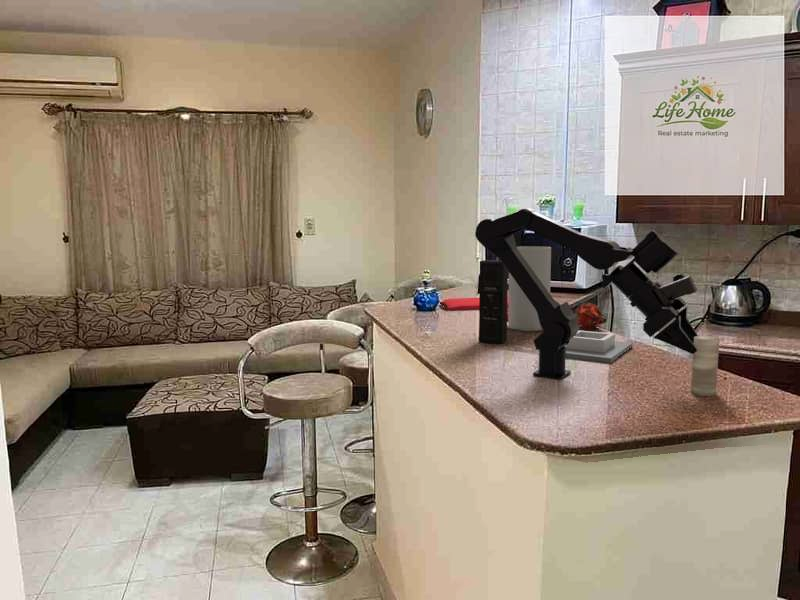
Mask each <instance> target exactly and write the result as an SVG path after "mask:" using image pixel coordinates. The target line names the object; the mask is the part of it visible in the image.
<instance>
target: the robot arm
mask: <svg viewBox="0 0 800 600" xmlns="http://www.w3.org/2000/svg"><path fill="white" fill-rule="evenodd" d="M525 229H527V230H529V231H532V232H534V233H536V234H537V235H540V236H542V237H544V238H545V239H548V240H549V241H552V242H554V243H556V244H559V245H561V246H562V247H564V248H566V249H569V250H571V251H572V252H574V253H575V254H576V255H577V256H578V257H579V258H580V259H582V260H583V261H584V262H586V263H587V264H589V266H591V267H593V269H595V270H599V271H600V270H601V271H602V270H607V269H610V268H612V267H615V266H617V267H615V268H614V269H613V270H612V271H611V272H610V273H604V274H602V275H601V278H602V283H601V288H603V289H606V288H607V287H609V286H611V284H613V285H614V286H615V287H616V288H617V290H619V292H620V293H622V295H624V296H625V297H626V298H627V299H628V301H629V302H630V303H629V305H630V306H631V307H632V308H635V307H636V308H637V309H638V311H639V312H640V313H641V314H643V316H644V317H645V318H644V320H645V321H644V322H643V326H642V327H643V328H642V331H644V333H645V334H646V335H647V336H648V337H649V338H651V337H653V339H655V340H659V341H661V342H663V343H666V344H669V345H671V346H673V347H676V348H678V349H679V350H680V349H681V350H682V351H685V352H687V353H690V354H691V355H693V354H694V353H695V352H697V349H696V348H695V346H694V337H695V336H699V335H698V333H697V332H696V330H695V328H694V327H693V325H692V323H691V322H690V320H689V318H688V309H689V308H688V306H686V305H688V304H687V302H686V301H685V300H684V299H683V298H682V297H684V296H686V295H688V296H690V295H691V294H692V295H693V294H695V293H697V291H698V288H697V286H696V284H695V282H694V281H695V280H694V279H693V278H692V276H691V275H687V276H686V275H684V274H683V273H678V274H675V275H673V276H672V282H669V283H666V284H665V285H662V284H661V283H660V282H656V281H655V282H653V280H652V279H651V278H650V277H649V276H648V275H647V274H650V273H651V272H653V273H654V274H659V272H660V271H661V270H663V269H664V268H665V267H666V266H667V265H668V264H669V263H670V262H672V261H673V260H674V259H675V258H676V257H677V256H678V255H680V252H679V250H678V249H677V247H675V246H674V244H672V242H670V241H669V240H666V238H664V237H663V236H662V235H660V234H659V233H658V232H657V231H655V230H651V231H649V232H648V234H646V236H645V237H644V238H643V239H642V240H641V241H640V242H639V243H638V244H637V245H636V246H635V247H634V248H632V247H631V246H630V247H625V246H620V244H619V243H617V242H616V241H613V240H611V239H607V238H604V237H599V236H594V235H590V234H585V233H582V232H580V231H578V230H576V229H574V228H571V227H570V226H567V225H565V224H563V223H560V222H559V221H556V220H554V219H552V218H550V217H548V216H545V215H543V214H541V213H539V212H537V211H536V210H535V209H533V208H520V209H519V210H518V211H515V212H513V213H509V214H508V215H507V214H506V215H505V216H500V217H498V218H486V219H483V220H480V221H479V223H478V224H477V226H476V228H475V233H474V234H475V235H474V236H475V237H476V240H477V242H479V244H480V245H482V246H483V247H484V248H485V249H486V250H487V251H488V252H489V253H491V254H492V255H494V256H495V257H497V258H498V259H499V261H501V262H502V263H503V264H504V266H505V267H506V269H507V270H508V274H509V273H510V274H511V276H512V277H513V278H514V280H515V281H516V283H517V284H518V285H519V287H520V288H521V290H522V291H523V292H524V294H525V295H526V297H527V298H528V300H529V301H530V302H531V304H532V305H533V307H534V308H535V309H536V311H537V315H538V319H539V322H540V325H541V327H542V329H543V332H542V331H541V333H540V334H539V335H538V336H537V337H535V338H534V339H533V344H534V347H535V350H536V351H538V369H537V370H535V371H533V372H532V375H533V376H536V377H537V376H538V377H543V378H551V379H558V380H562V379H563V378H566V377H567V376H568V375H569V374H571V373H572V371H571V370H569V369H566V361H567V360H566V359H567V358H566V347H565V345H567V344H568V343H569V341H570V339H571V338H573V337H574V336H575V335H576V334H577V332H578V330H579V329H580V328H579V327H580V326H579V323H578V321H577V319H576V318H577V317H578V315H576V314H575V312H574V311H573V310H572V308H571V306H570V304H569V303H568V301H565V302H563V303H560V302H558V300H555V299H554V298H553V296H552V295H551V292H550V293H549V292H548V291H547V289H546V288H545V287H544V285H543V284H542V282H541V281H540V280H539V278H538V277H537V275H536V274H535V273H534V271H533V270H532V269H531V267H530V266H529V264H528V263H527V262H526V260H525V259H524V257H523V256H522V255H521V253H520V252H519V251H518V249H517V247H518V246H517V243H516V240H515V236H514V235H515V234H516V233H518V232H520V231H523V230H525ZM632 258H633V259H632ZM630 259H632V260H631V261H629V262H628V263H627V264H626V265H624V266H623V265H620V264H619V263H620V262H624V261H627V260H630ZM635 263H636V264H635ZM618 264H619V265H618ZM640 268H641V269H642V270H641V269H640ZM643 271H644V272H643ZM645 273H647V274H645ZM682 308H683V309H682Z"/></svg>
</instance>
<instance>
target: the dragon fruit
mask: <svg viewBox="0 0 800 600" xmlns="http://www.w3.org/2000/svg"><path fill="white" fill-rule="evenodd" d="M574 313H575V314H576V315H578V317H577V318H576V319H577V321H578V323H579V327H581V328H582V329H584V330H585V331H589V330H591V329H592V327H593V329H597V328H599V326H600V325H602V324H606V323H607V318H604V317H605V316H604V314H603V312H602V311H601V308H600V307H599V306H597V305H596V304H593V303H590V302H583V303H582V304H580V305H579V306H578V307H577V308H576V309H575V312H574Z"/></svg>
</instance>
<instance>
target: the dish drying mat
mask: <svg viewBox="0 0 800 600" xmlns="http://www.w3.org/2000/svg"><path fill="white" fill-rule="evenodd" d="M439 303H440V304H441V305H442V306H444V307H445V308H446V309H447V310H452V312H453V310H458V311H476V310H477V311H479V297H467V298H463V297H462V298H446V299H443V300H442V301H439ZM442 306H441V307H442ZM445 308H444V309H445ZM446 309H445V310H446ZM507 309H509V295H507ZM447 310H446V311H447Z"/></svg>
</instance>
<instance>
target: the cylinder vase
mask: <svg viewBox="0 0 800 600" xmlns="http://www.w3.org/2000/svg"><path fill="white" fill-rule="evenodd" d="M516 247H517V249H518V251H519V252H520V253H521V255H522V256H523V257H524V259H525V260H526V262H527V263H528V264H529V266H530V267H531V269H532V270H533V271H534V273H535V274H536V275H537V277H538V278H539V280H540V281H541V282H542V284H543V285H544V287H545V288H546V289H547V291H548V292H549V293H550V294H551V275H552V274H551V270H552V269H551V268H552V267H551V266H552V247H551V246H539V245H538V246H537V245H536V246H533V245H532V246H529V245H528V246H516ZM508 296H509V308H508V309H509V314H508V322H507V327H508V328H510V329H511V330H513V331H520V332H542V331H543V329H542V327H541V325H540V322H539V319H538V315H537V311H536V309H535V308H534V307H533V305H532V304H531V302H530V301H529V300H528V298H527V297H526V295H525V294H524V292H523V291H522V290H521V288H520V287H519V285H518V284H517V283H516V281H515V280H514V278H513V277H512V276H511V274H510V273H509V272H508ZM543 332H544V331H543Z"/></svg>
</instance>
